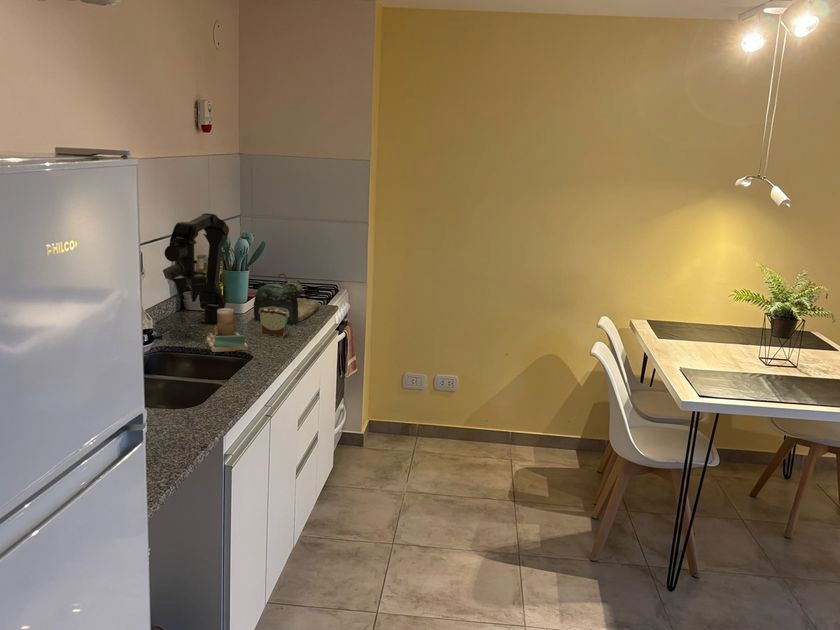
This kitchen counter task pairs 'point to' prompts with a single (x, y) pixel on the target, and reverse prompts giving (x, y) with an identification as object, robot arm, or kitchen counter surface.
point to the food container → (273, 321)
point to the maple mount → (227, 342)
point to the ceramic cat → (279, 298)
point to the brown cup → (225, 322)
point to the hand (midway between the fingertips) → (187, 299)
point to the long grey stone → (306, 307)
